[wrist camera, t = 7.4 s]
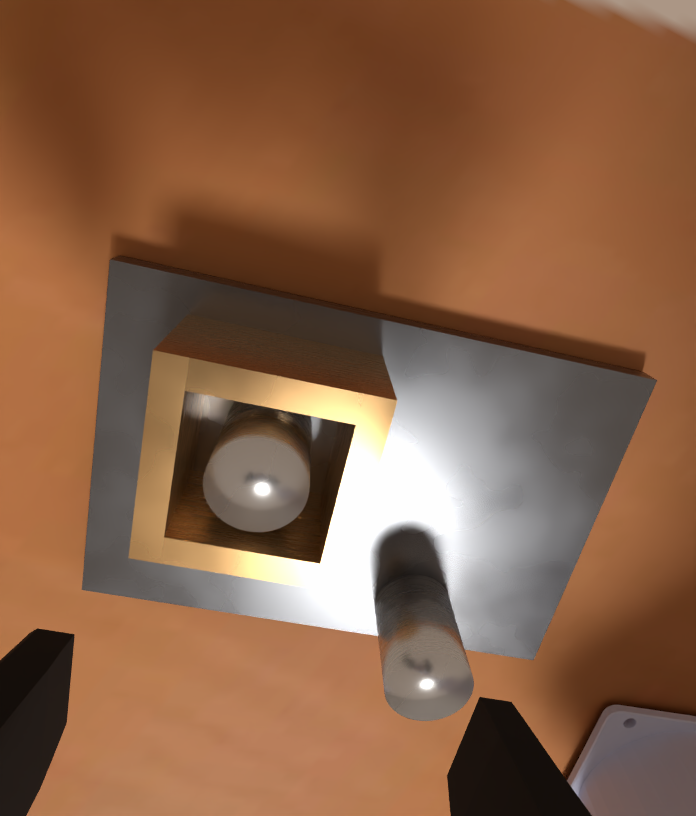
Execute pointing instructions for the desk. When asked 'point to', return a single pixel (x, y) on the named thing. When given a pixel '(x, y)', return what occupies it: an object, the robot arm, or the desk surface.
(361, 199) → the desk surface
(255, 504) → the post
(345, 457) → the collar
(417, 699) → the post
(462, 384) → the steel plate
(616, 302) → the desk surface
